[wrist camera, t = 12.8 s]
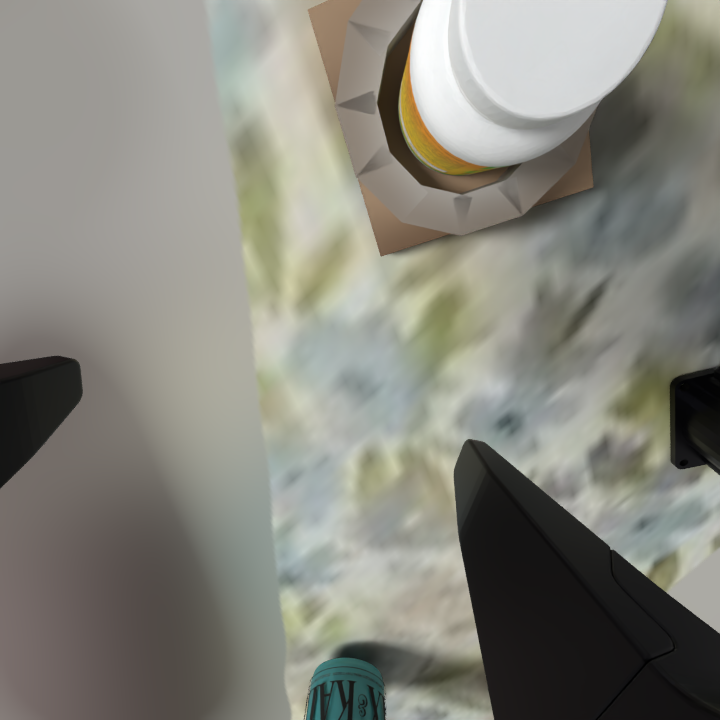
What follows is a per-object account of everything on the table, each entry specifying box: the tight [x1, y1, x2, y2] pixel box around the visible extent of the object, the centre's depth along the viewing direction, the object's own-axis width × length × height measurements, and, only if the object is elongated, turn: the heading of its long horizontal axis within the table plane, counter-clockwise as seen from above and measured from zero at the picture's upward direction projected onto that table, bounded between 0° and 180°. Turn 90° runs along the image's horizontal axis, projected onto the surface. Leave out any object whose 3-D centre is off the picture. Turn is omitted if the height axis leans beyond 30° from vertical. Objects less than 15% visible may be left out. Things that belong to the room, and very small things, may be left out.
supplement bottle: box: [398, 0, 668, 176], centre depth 12 cm, size 5×5×10 cm
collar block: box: [308, 0, 599, 256], centre depth 16 cm, size 10×10×3 cm
